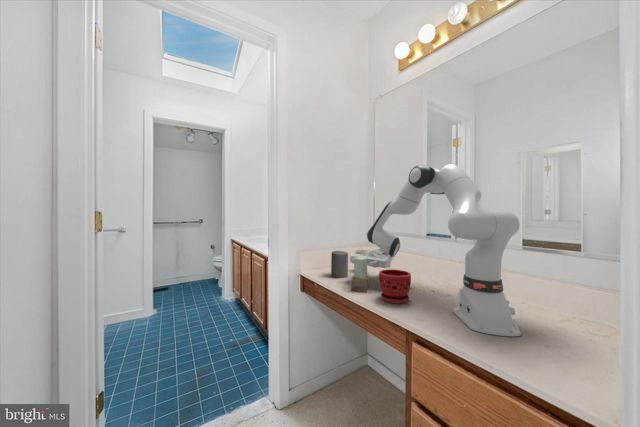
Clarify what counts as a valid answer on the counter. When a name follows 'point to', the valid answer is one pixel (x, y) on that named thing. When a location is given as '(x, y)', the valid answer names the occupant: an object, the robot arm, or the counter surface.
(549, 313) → the counter surface
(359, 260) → the sage brick
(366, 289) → the walnut base
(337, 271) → the pillar candle
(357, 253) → the character mug
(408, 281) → the plant pot
